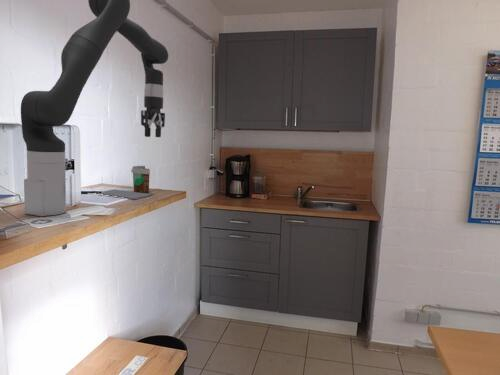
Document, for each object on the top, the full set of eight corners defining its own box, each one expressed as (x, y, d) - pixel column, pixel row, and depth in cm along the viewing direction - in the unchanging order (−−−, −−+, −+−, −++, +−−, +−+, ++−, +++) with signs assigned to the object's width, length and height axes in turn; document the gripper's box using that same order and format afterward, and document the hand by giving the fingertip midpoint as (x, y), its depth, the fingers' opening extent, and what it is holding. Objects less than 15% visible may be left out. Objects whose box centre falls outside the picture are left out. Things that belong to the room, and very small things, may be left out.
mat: (134, 199, 127) (134, 198, 127) (93, 194, 132) (93, 193, 132) (153, 195, 138) (153, 194, 138) (114, 190, 143) (114, 189, 143)
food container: (129, 189, 148) (129, 165, 146) (144, 189, 151) (144, 165, 149) (132, 194, 137) (133, 168, 135) (149, 194, 139) (149, 168, 138)
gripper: (151, 94, 139) (150, 137, 141) (171, 98, 152) (170, 137, 155) (135, 93, 141) (134, 136, 144) (155, 98, 155) (155, 136, 157)
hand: (153, 136), depth 149 cm, fingers open, 7 cm apart
